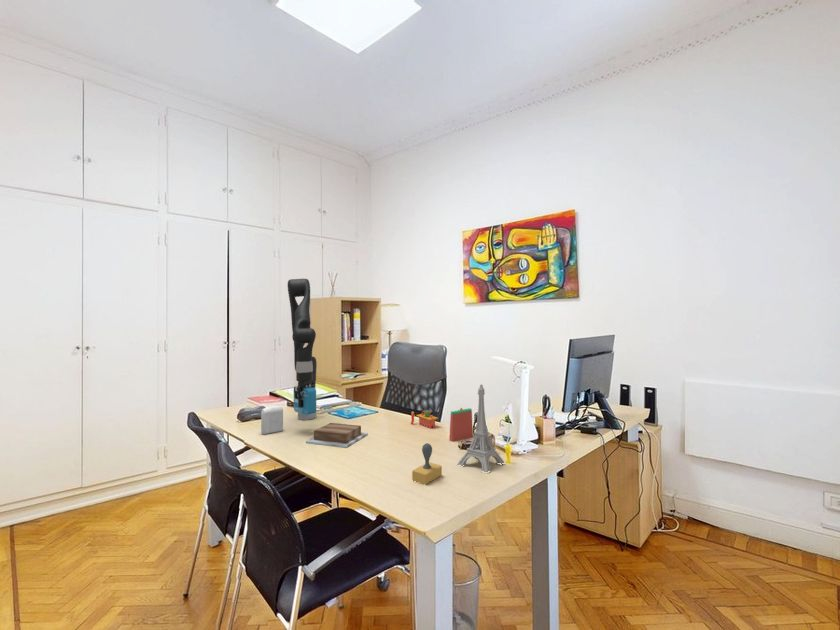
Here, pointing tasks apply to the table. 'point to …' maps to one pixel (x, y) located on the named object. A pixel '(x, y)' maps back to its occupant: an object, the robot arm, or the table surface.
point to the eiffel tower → (481, 440)
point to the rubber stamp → (426, 468)
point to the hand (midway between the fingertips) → (304, 405)
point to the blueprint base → (337, 435)
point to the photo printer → (271, 419)
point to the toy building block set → (458, 423)
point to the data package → (307, 401)
